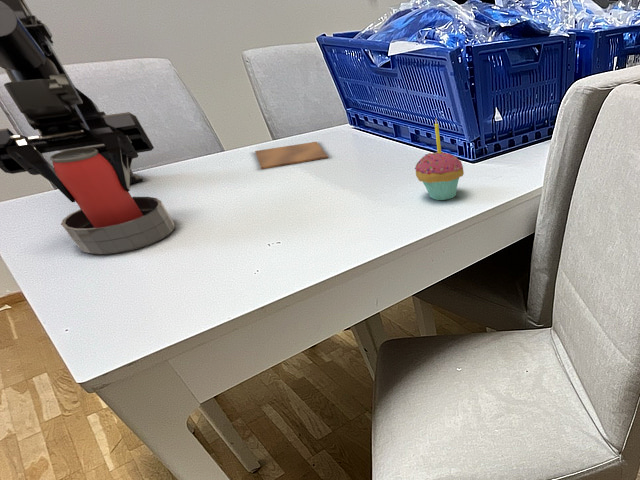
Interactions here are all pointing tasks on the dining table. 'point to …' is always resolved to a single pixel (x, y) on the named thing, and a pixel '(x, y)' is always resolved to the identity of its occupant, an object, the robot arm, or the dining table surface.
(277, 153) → the cork mat
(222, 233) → the dining table surface
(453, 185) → the cupcake
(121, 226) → the pan
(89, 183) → the beer can
